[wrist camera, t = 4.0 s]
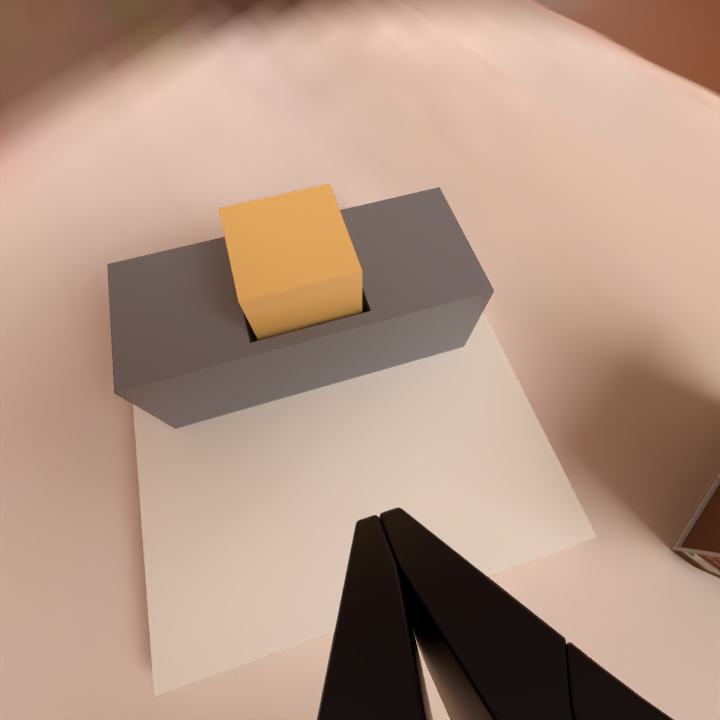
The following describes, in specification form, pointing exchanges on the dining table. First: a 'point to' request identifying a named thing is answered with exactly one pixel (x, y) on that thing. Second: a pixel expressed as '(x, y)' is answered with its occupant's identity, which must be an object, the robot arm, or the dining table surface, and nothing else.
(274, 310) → the amber key
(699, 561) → the food container
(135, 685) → the dining table surface
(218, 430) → the grey block on base
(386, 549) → the robot arm
